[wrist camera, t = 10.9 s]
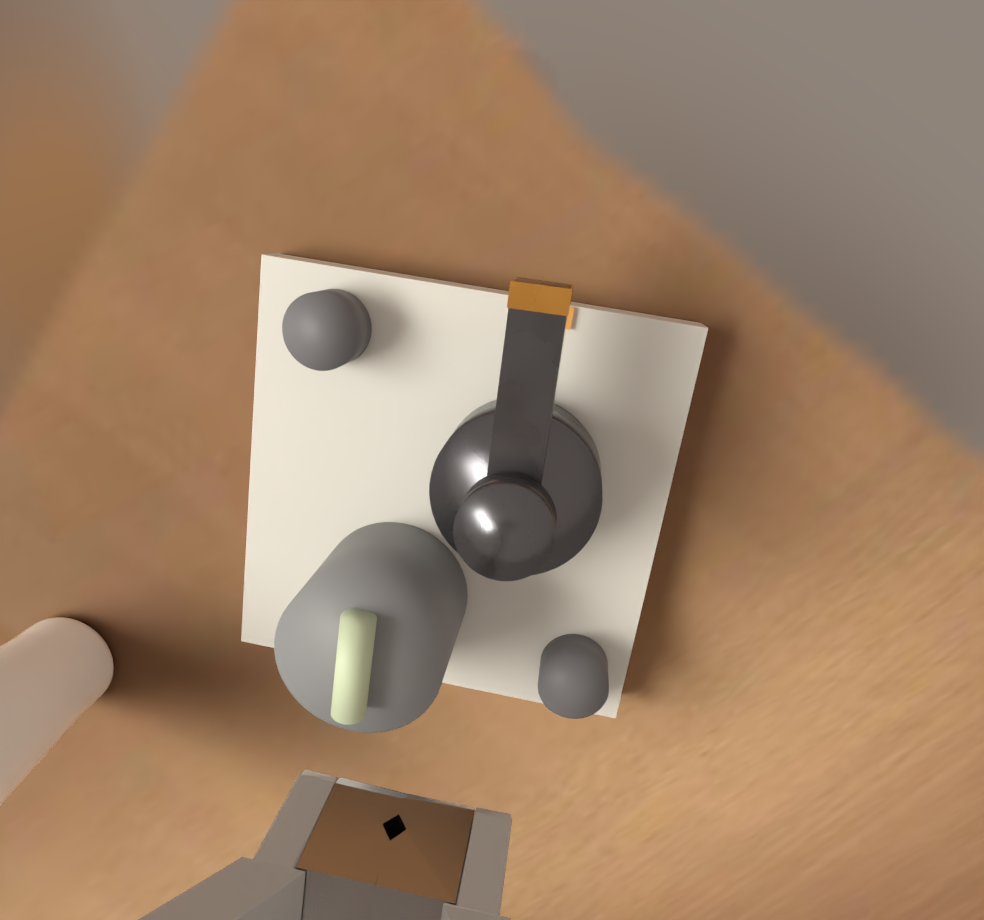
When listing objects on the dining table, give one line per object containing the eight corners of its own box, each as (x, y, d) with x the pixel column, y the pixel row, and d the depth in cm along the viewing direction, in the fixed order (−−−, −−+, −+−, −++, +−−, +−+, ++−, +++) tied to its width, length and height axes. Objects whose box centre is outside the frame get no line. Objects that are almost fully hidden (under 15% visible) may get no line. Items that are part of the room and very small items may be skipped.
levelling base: (614, 694, 38) (622, 833, 29) (258, 621, 39) (161, 733, 30) (701, 322, 32) (744, 354, 23) (280, 253, 33) (168, 258, 24)
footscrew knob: (587, 559, 33) (587, 639, 27) (435, 533, 34) (398, 606, 27) (635, 288, 30) (649, 303, 23) (464, 265, 30) (429, 273, 24)
